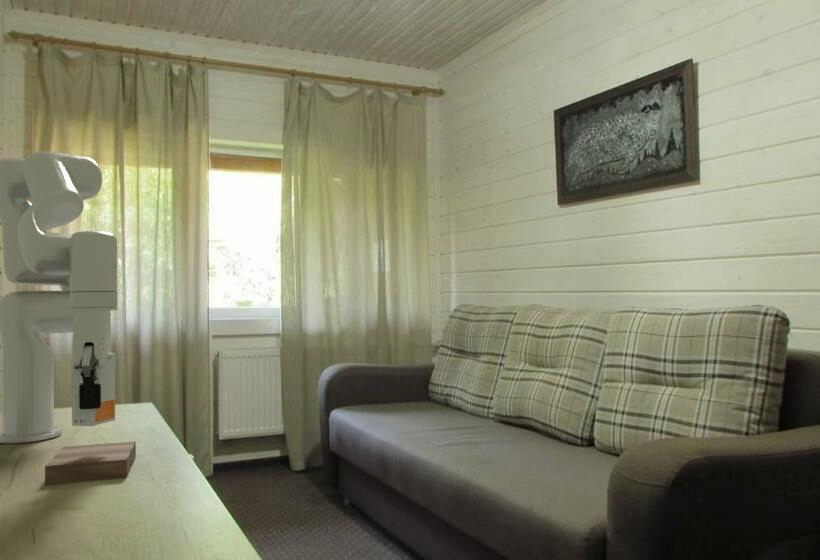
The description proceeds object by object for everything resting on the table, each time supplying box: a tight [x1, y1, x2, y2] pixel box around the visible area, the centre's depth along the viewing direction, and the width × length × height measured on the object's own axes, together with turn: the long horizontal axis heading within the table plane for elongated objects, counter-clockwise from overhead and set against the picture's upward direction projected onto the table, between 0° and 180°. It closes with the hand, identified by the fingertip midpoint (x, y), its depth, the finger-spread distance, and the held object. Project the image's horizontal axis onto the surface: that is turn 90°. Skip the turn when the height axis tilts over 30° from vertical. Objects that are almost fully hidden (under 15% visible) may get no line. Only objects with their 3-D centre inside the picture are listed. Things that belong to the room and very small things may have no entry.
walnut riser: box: [44, 440, 137, 486], centre depth 110 cm, size 14×12×3 cm
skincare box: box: [71, 352, 117, 427], centre depth 110 cm, size 6×4×12 cm
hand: (94, 404), depth 110 cm, fingers closed on skincare box, 7 cm apart
